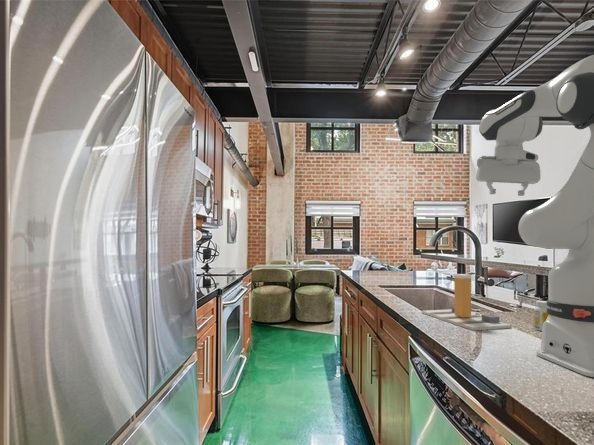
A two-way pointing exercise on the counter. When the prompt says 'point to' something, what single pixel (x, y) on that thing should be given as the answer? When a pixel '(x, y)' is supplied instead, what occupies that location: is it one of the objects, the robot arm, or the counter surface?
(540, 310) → the supplement bottle
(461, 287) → the glass of beer
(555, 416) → the counter surface
